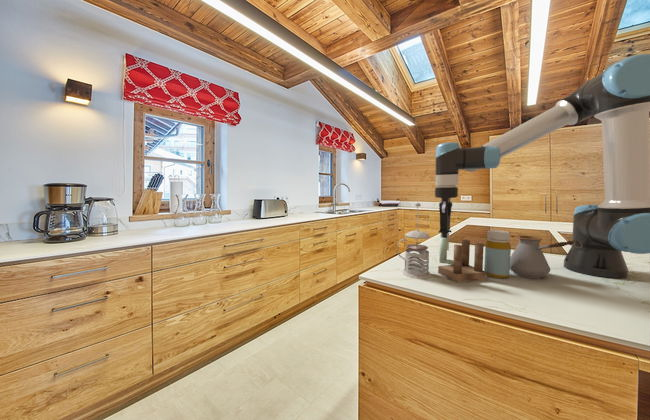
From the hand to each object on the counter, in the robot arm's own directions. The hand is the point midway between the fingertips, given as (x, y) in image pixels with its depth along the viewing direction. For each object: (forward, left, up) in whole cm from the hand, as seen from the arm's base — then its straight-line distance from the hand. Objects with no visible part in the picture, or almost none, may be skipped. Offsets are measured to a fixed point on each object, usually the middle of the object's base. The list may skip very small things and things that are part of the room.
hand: (444, 249), depth 92 cm
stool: (+1, +10, -7) cm, 12 cm away
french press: (+15, +4, -7) cm, 17 cm away
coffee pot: (-21, +18, -7) cm, 29 cm away
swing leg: (+1, +5, -4) cm, 6 cm away
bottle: (-11, +12, -7) cm, 18 cm away
